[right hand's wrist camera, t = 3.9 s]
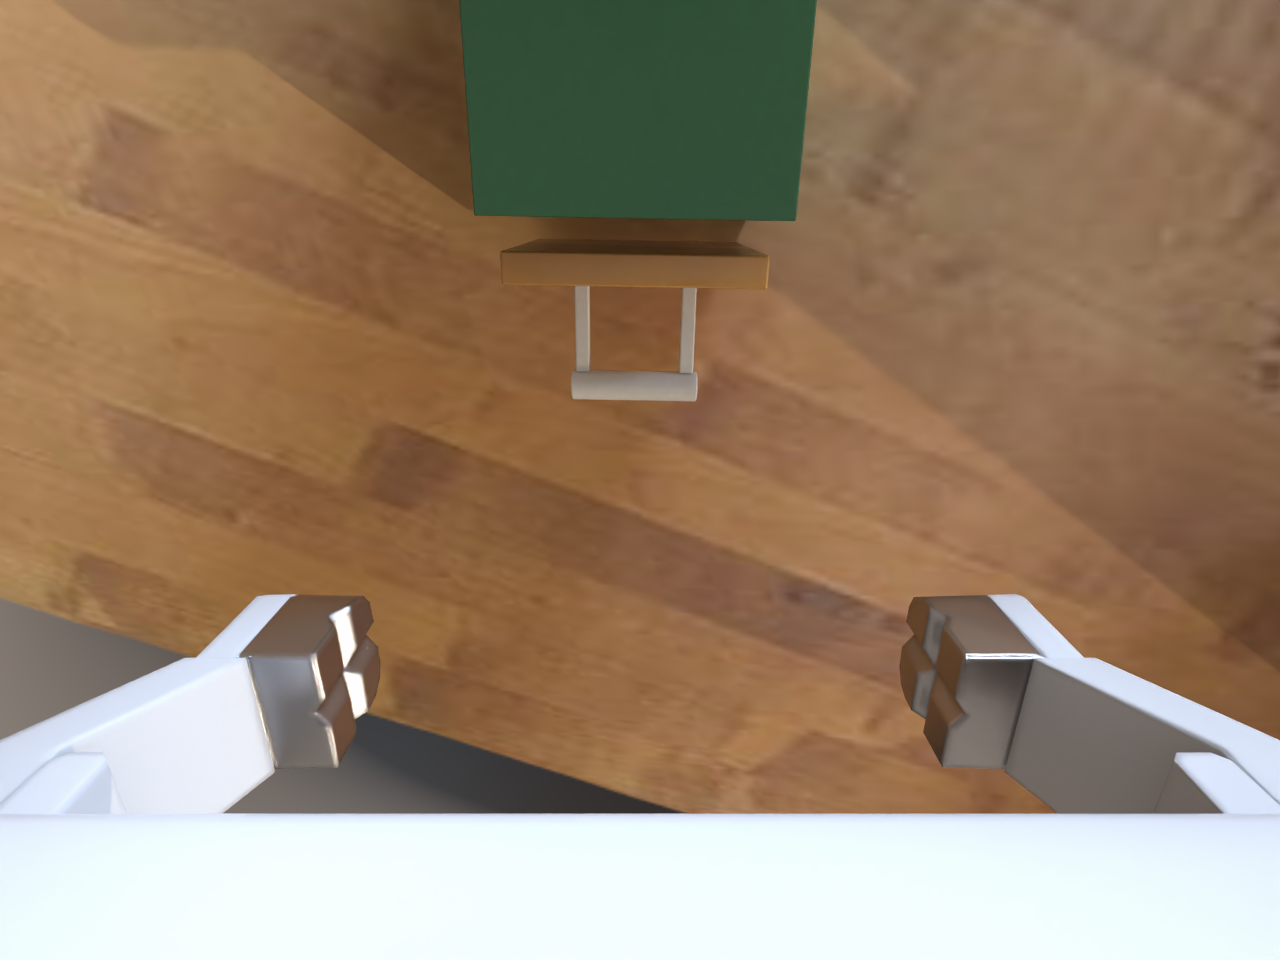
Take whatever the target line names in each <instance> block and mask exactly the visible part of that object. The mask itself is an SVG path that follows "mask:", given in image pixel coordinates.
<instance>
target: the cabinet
mask: <svg viewBox="0 0 1280 960" xmlns="http://www.w3.org/2000/svg"><path fill="white" fill-rule="evenodd" d="M459 2H460V17H461V31H462V45H463V60H464V74H465V89H466V103H467V117H468V132H469V146H470V161H471V175H472V190H473V204H474V214H475V215H476V216H533V217H590V218H647V219H704V220H761V221H795V220H796V214H797V203H798V193H799V182H800V172H801V161H802V151H803V140H804V130H805V119H806V109H807V98H808V88H809V77H810V67H811V56H812V46H813V35H814V24H815V14H816V3H817V0H459Z"/></svg>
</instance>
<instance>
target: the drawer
mask: <svg viewBox="0 0 1280 960" xmlns="http://www.w3.org/2000/svg"><path fill="white" fill-rule="evenodd" d="M500 258H501V276H502V283H503V284H504V285H541V286H574V295H575V348H576V370H573V371H572V374H571V396H572V399H595V400H651V401H696V398H697V373H696V372H693V359H694V338H695V316H696V294H697V288H712V289H766V288H767V285H768V273H769V261H770V258H769V256H767V255H765V254H763V253H760V252H758V251H755V250H753V249H751V248H748V247H746V246H743V245H741V244H738V243H736V242H686V241H629V240H572V239H537V240H534V241H531V242H528V243H525V244H522V245H519V246H516V247H513V248H510V249H507V250H504V251H501V253H500ZM590 286H598V287H655V288H682V294H681V321H680V347H679V372H662V371H605V370H590Z"/></svg>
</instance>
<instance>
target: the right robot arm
mask: <svg viewBox="0 0 1280 960" xmlns="http://www.w3.org/2000/svg"><path fill="white" fill-rule="evenodd" d="M373 622H374V621H373V616H372V612H371V607H370V602H369V601H368V600H367V599H366V598H365V597H364V596H336V595H294V594H281V595H262V596H257V597H256V598H255V599H254V600H253V601H252V602H251V603H250V604H249V605H248V606H247V607H246V608H245V609H244V610H243V611H242V612H241V613H240V614H239V615H238V616H237V617H236V618H235V619H234V620H233V621H232V622H231V623H230V624H229V625H228V626H227V627H226V628H225V629H224V630H223V631H222V632H221V633H220V634H219V635H218V636H217V637H216V638H215V639H214V640H213V641H212V642H211V643H210V644H209V645H208V646H207V647H206V648H205V649H204V650H203V651H202V652H201V653H200V654H199V655H198V656H197V657H196V658H183V659H181V660H179V661H177V662H174V663H172V664H170V665H168V666H165V667H163V668H161V669H159V670H156V671H154V672H152V673H150V674H147V675H145V676H143V677H141V678H138V679H136V680H134V681H132V682H129V683H127V684H125V685H123V686H120V687H118V688H116V689H114V690H111V691H109V692H107V693H105V694H102V695H100V696H98V697H96V698H93V699H91V700H89V701H87V702H84V703H82V704H80V705H78V706H76V707H73V708H71V709H69V710H67V711H64V712H62V713H60V714H58V715H55V716H53V717H51V718H49V719H46V720H44V721H42V722H40V723H37V724H35V725H33V726H31V727H28V728H26V729H24V730H22V731H19V732H17V733H15V734H13V735H10V736H8V737H6V738H4V739H2V740H0V960H1280V740H1278V739H1276V738H1274V737H1271V736H1269V735H1267V734H1265V733H1262V732H1260V731H1258V730H1256V729H1253V728H1251V727H1249V726H1247V725H1244V724H1242V723H1240V722H1238V721H1235V720H1233V719H1231V718H1229V717H1227V716H1224V715H1222V714H1220V713H1218V712H1215V711H1213V710H1211V709H1209V708H1206V707H1204V706H1202V705H1200V704H1197V703H1195V702H1193V701H1191V700H1189V699H1186V698H1184V697H1182V696H1180V695H1177V694H1175V693H1173V692H1171V691H1168V690H1166V689H1164V688H1162V687H1159V686H1157V685H1155V684H1153V683H1150V682H1148V681H1146V680H1144V679H1142V678H1139V677H1137V676H1135V675H1133V674H1130V673H1128V672H1126V671H1124V670H1121V669H1119V668H1117V667H1115V666H1112V665H1110V664H1108V663H1106V662H1103V661H1101V660H1099V659H1097V658H1084V657H1083V656H1082V655H1081V654H1080V653H1079V652H1078V651H1077V650H1076V649H1075V648H1074V647H1073V646H1072V645H1071V644H1070V643H1069V642H1068V641H1067V640H1066V639H1065V638H1064V637H1063V636H1062V635H1061V634H1060V633H1059V632H1058V631H1057V630H1056V629H1055V628H1054V627H1053V626H1052V625H1051V624H1050V623H1049V622H1048V621H1047V620H1046V619H1045V618H1044V617H1043V616H1042V615H1041V614H1040V613H1039V612H1038V611H1037V610H1036V609H1035V608H1034V607H1033V606H1032V605H1031V604H1030V603H1029V602H1028V601H1027V600H1026V599H1025V598H1024V597H1022V596H1019V595H1017V594H1003V595H975V596H934V597H914V598H913V600H912V602H911V604H910V606H909V610H908V616H907V621H906V622H907V623H908V625H909V626H910V628H911V630H912V631H913V633H914V635H913V636H912V637H911V638H910V639H909V640H908V641H907V642H906V643H905V644H904V645H903V646H902V651H901V659H900V677H901V686H902V689H903V692H904V696H905V698H906V700H907V702H908V704H909V706H910V708H911V710H912V711H914V712H915V713H917V714H918V715H920V716H921V717H923V718H924V719H926V721H925V726H924V731H923V732H924V734H925V736H926V738H927V740H928V742H929V743H930V745H931V747H932V749H933V751H934V753H935V754H936V756H937V758H938V760H939V762H940V763H941V765H942V767H952V768H989V769H1005V772H1006V773H1007V774H1008V775H1010V776H1011V777H1012V778H1013V779H1015V780H1016V781H1017V782H1018V783H1020V784H1021V785H1022V786H1024V787H1025V788H1026V789H1027V790H1029V791H1030V792H1031V793H1032V794H1034V795H1035V796H1036V797H1038V798H1039V799H1040V800H1041V801H1043V802H1044V803H1045V804H1046V805H1048V806H1049V807H1050V808H1052V809H1053V810H1054V811H1055V812H1057V813H1058V814H222V813H224V812H225V811H226V810H227V809H229V808H230V807H231V806H232V805H234V804H235V803H236V802H238V801H239V800H240V799H241V798H243V797H244V796H245V795H247V794H248V793H249V792H250V791H252V790H253V789H254V788H255V787H257V786H258V785H259V784H260V783H262V782H263V781H264V780H266V779H267V778H268V777H269V776H271V775H272V774H273V773H274V772H275V769H290V768H326V767H338V765H339V764H340V762H341V760H342V758H343V756H344V754H345V753H346V751H347V749H348V747H349V745H350V743H351V742H352V740H353V738H354V736H355V734H356V732H357V731H356V726H355V721H354V719H356V718H357V717H359V716H360V715H362V714H363V713H365V712H366V711H368V710H369V708H370V706H371V704H372V702H373V700H374V698H375V696H376V692H377V688H378V684H379V679H380V657H379V651H378V646H377V645H376V644H375V643H374V642H373V641H372V640H371V639H370V638H369V637H368V636H367V635H366V633H367V631H368V630H369V628H370V626H371V625H372V623H373Z"/></svg>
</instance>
